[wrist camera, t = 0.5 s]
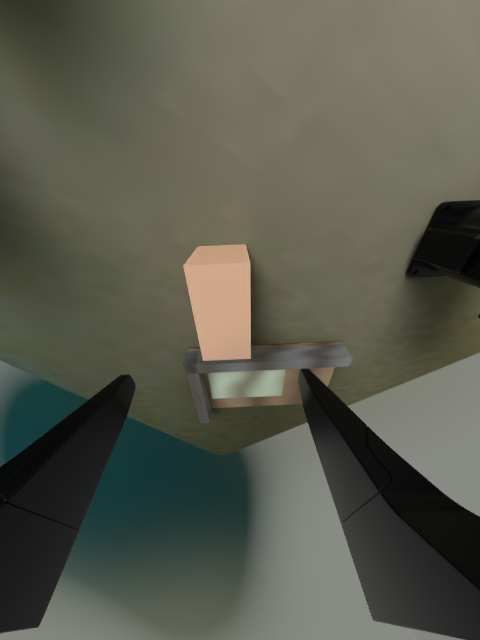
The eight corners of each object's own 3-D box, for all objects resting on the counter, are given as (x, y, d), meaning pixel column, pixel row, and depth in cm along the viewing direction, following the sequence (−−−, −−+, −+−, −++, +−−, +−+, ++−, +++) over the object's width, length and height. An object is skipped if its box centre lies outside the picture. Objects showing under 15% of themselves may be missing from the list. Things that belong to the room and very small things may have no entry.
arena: (340, 341, 24) (353, 357, 22) (320, 399, 31) (327, 417, 29) (188, 348, 24) (183, 365, 22) (203, 405, 31) (200, 423, 29)
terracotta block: (245, 244, 17) (250, 262, 12) (247, 322, 22) (250, 358, 17) (198, 246, 17) (183, 265, 12) (210, 324, 22) (203, 360, 17)
